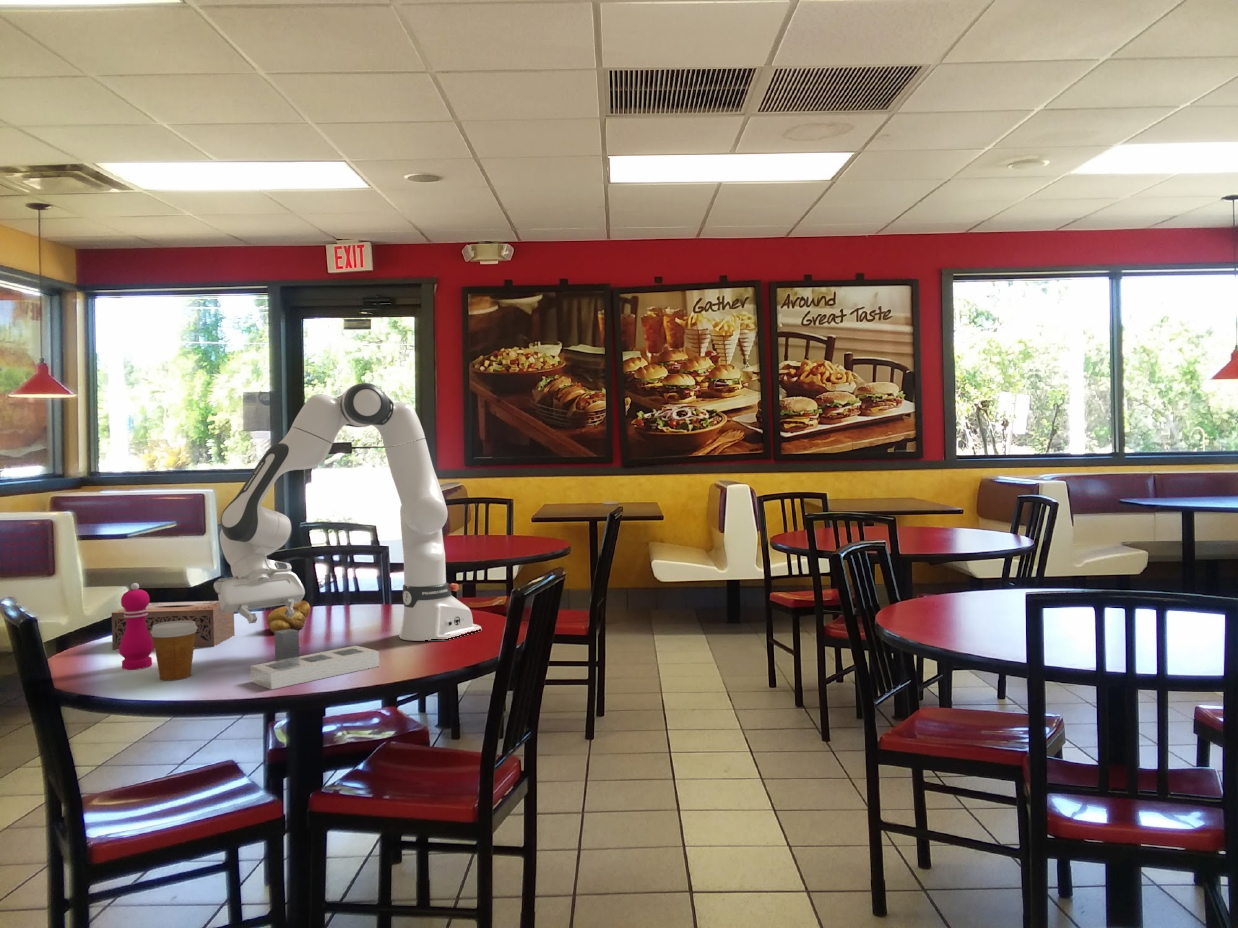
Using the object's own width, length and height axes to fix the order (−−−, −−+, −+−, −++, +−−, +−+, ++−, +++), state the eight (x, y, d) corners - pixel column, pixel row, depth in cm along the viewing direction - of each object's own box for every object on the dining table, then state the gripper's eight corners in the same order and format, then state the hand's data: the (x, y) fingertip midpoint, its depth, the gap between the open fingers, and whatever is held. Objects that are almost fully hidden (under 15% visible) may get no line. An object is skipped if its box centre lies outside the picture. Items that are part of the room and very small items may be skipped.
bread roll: (285, 635, 246) (284, 607, 246) (255, 634, 249) (254, 605, 248) (314, 626, 258) (313, 599, 258) (285, 625, 261) (285, 598, 261)
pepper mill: (139, 670, 208) (137, 585, 208) (112, 669, 209) (110, 585, 209) (161, 663, 215) (158, 580, 215) (135, 662, 216) (132, 580, 216)
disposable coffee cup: (166, 671, 206) (164, 620, 206) (206, 671, 206) (205, 619, 206) (142, 682, 197) (141, 628, 197) (185, 682, 196) (183, 628, 196)
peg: (291, 661, 214) (290, 628, 214) (299, 664, 211) (298, 630, 211) (275, 664, 211) (274, 631, 211) (283, 667, 208) (282, 633, 208)
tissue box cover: (234, 636, 248) (233, 600, 247) (214, 647, 233) (213, 609, 233) (139, 639, 246) (138, 603, 246) (112, 650, 232) (111, 612, 231)
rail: (356, 659, 215) (356, 645, 215) (379, 666, 208) (378, 651, 208) (250, 681, 196) (250, 665, 196) (271, 689, 189) (271, 672, 189)
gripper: (214, 571, 213) (233, 616, 207) (295, 562, 228) (315, 604, 222) (207, 588, 216) (225, 633, 210) (288, 578, 231) (307, 620, 225)
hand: (272, 618), depth 216 cm, fingers open, 8 cm apart
